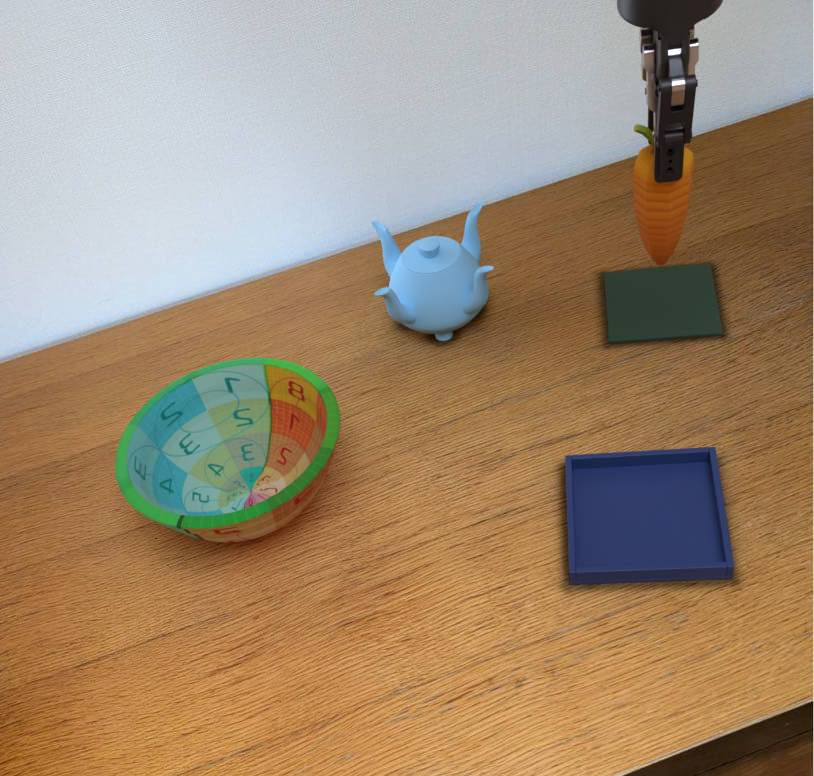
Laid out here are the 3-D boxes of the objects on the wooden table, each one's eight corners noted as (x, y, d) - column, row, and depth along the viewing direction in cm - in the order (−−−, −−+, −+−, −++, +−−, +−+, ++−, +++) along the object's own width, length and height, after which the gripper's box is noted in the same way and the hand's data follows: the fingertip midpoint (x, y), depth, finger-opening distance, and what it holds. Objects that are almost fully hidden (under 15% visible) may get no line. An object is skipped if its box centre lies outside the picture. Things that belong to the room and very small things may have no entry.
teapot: (491, 273, 119) (483, 200, 112) (503, 345, 111) (494, 271, 103) (386, 290, 121) (370, 219, 113) (389, 363, 112) (373, 291, 105)
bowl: (224, 406, 113) (195, 339, 105) (397, 449, 104) (379, 379, 96) (110, 555, 102) (68, 492, 94) (293, 617, 93) (263, 553, 85)
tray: (713, 459, 96) (715, 446, 95) (732, 579, 88) (734, 566, 86) (565, 468, 99) (565, 455, 97) (569, 584, 90) (569, 572, 89)
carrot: (669, 289, 87) (675, 131, 76) (621, 271, 90) (620, 116, 78) (699, 257, 89) (710, 99, 77) (652, 241, 92) (655, 86, 80)
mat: (710, 265, 114) (710, 262, 113) (722, 335, 106) (723, 332, 106) (603, 275, 116) (603, 272, 115) (608, 344, 108) (608, 341, 108)
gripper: (744, -26, 63) (723, 206, 76) (714, -113, 72) (700, 108, 85) (624, -8, 64) (624, 217, 78) (609, -96, 73) (611, 120, 86)
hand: (664, 159), depth 81 cm, fingers closed on carrot, 5 cm apart
